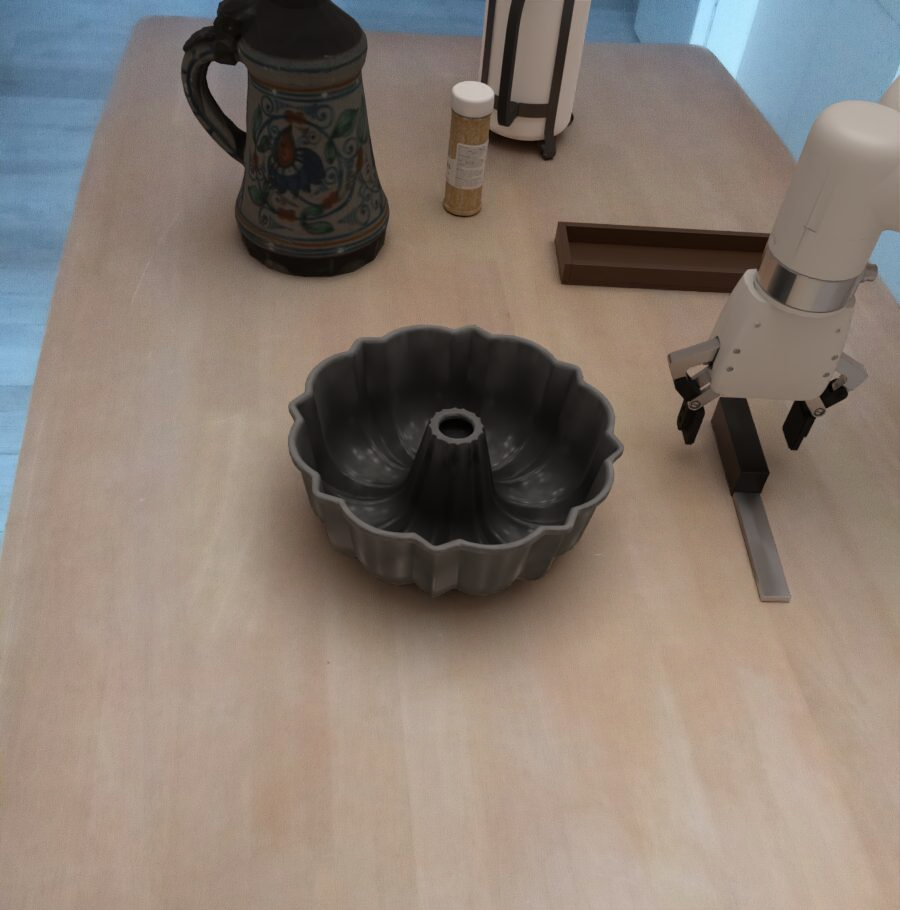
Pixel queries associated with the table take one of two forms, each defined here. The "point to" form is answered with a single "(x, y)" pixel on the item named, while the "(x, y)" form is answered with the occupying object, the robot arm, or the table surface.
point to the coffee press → (533, 66)
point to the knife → (749, 492)
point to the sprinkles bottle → (467, 146)
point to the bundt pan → (452, 456)
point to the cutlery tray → (655, 256)
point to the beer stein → (295, 132)
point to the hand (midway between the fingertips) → (737, 437)
